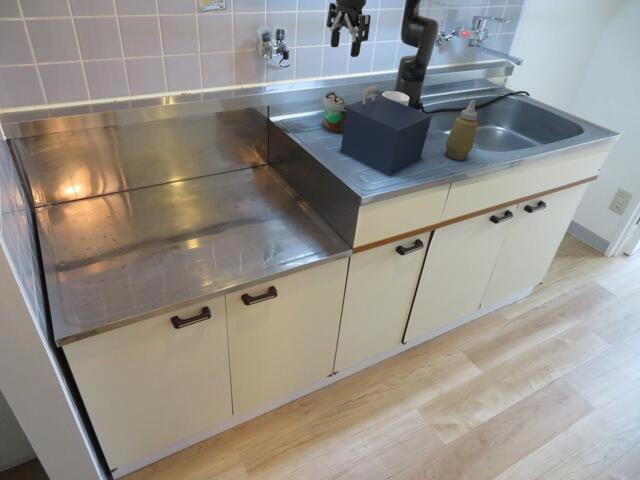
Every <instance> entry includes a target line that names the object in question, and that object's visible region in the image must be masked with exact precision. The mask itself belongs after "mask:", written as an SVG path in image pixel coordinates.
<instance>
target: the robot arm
mask: <svg viewBox="0 0 640 480" xmlns="http://www.w3.org/2000/svg"><path fill="white" fill-rule="evenodd" d="M421 3H422V0H405V4H404V8H403V15H402V21H401V28H400V39H401V41H402V43H403V44H405V45H406V46H410V47H414V48H416V49H417V50H416V51H417V52H416V53H415V54H412V55H404V56H403V57H401V58H400V61H399V65H398V70H397V74H396V75H397V76H396V80H395V84H394V89H393V91H397V92H401V93H404V94H406V95H407V96H409V103H408V106H409V107H411V108H414V109H416V110H419V111H421V112H424V113H426V114H429V115H431V114H434V113H439V112H454V111H455V112H456V111H462V110H465V109H467V107H468V106H466V107H465V106H464V107H454V108H453V107H451V108H447V107H446V108H437V109H433V110H431V111H426V110H425V108H424V103H423V102H421V96H422V90H423V86H424V81H425V77H426V74H427V71H428V66H429V64H430V61H431V58H432V55H433V51H434V48H435V44H436V41H437V38H438V34H439V23H438V21H437V20H436V19H434V18H431V17H427V16H423V15H420V7H421ZM366 4H367V0H335V2H330V3H329V6H328V14H327V20H326V27H327V28H329V30H330V32H331V35H330V47H331V48H338V47H339V46H340V39H341V38H340V37H341V32H340V31H341V30H342V29H343V27H344V28H345V29H347V30H348V33H350V36H351V38H352V42H351V47H350V54H349V55H350V57H352V58H357V57H358V58H359V55H360V52H361V46H362V43H363V42H367V41H369V36H370V35H369V34H370V27H371V17H372V16H371V15H370V14H364V13H363V8H364V7H365V6H366ZM515 92H516V93H510V92H508V93H509V94H506V93H505V94H506V95H504V94H503V95H504V96H501V95H499V96H497V97H495V98H493V99H491V100H488V101H486V102H484V103H483V102H482V103H480V104H477V105H476V104H475V109H477V108H481V107H484V106H486V105H489V104H491V103H493V102H496V101H497V100H500V99H502V98H505V97H507V96H509V95H510V96H512V95H519V94H524V95H526V96H527V97H530V96H531V95H530V93H529V92H528V91H525V90H519V91H515Z"/></svg>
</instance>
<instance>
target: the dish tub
mask: <svg viewBox="0 0 640 480" xmlns="http://www.w3.org/2000/svg"><path fill="white" fill-rule="evenodd" d="M431 121H432V118H431V119H429V120H427V121H424V122H422V123H420V124H418V125H415V126H413V127H411V128H409V129H407V130H404V131H402V132H400V133H397V132H395V131H393V130H391V129H388V128H386V127H384V126H381V125H379V124H377V123H375V122H372V121H370V120H368V119H366V118H363V117H361V116H359V115H356V114H354V113H352V112H350V111H346V117H345V124H344V131H343V133H342V139H341V145H340V149H339V150H340V151H339V152H340V153H342V154H344V155H345V156H347V157H350V158H352V159H354V160H355V161H358V162H360V163H362V164H363V165H366V166H368V167H370V168H372V169H374V170H376V171H378V172H380V173H382V174H384V175H385V176H391V175H393V174H395V173H398V172H399V171H400V170H403V169H404V168H406V167H408V166H410V165H412V164H414V163H415V162H417V161H419V160H421V158H422V156H423V155H422V154H423V151H424V147H425V143H426V139H427V135H428V132H429V128H430V125H431Z"/></svg>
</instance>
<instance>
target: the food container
mask: <svg viewBox="0 0 640 480" xmlns="http://www.w3.org/2000/svg"><path fill="white" fill-rule="evenodd" d="M322 104H323V106H324V108H323V109H324V110H323V111H324V112H323V128H324V129H325V130H327V131H328V132H331V133H334V134H343V131H344V124H345V117H346V111H347V110H345V109H344V107H345V106H347V105H348V104H347V103H346V102H345V101H344V99H342V98H341V97H339V96H337V95H336V91H334V90H333V91H328V92H326V93H325V95H324V97H323V99H322Z"/></svg>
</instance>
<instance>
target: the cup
mask: <svg viewBox="0 0 640 480" xmlns="http://www.w3.org/2000/svg"><path fill="white" fill-rule="evenodd" d="M381 96H384V97H386V98H389V99H391V100H394V101H396V102H399V103H401V104H404V105H406V106H408V103H409V96H407V95H406V94H404V93H401V92H397V91H394V90H387V91H386V90H385V91H383V92H382V94H381Z"/></svg>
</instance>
